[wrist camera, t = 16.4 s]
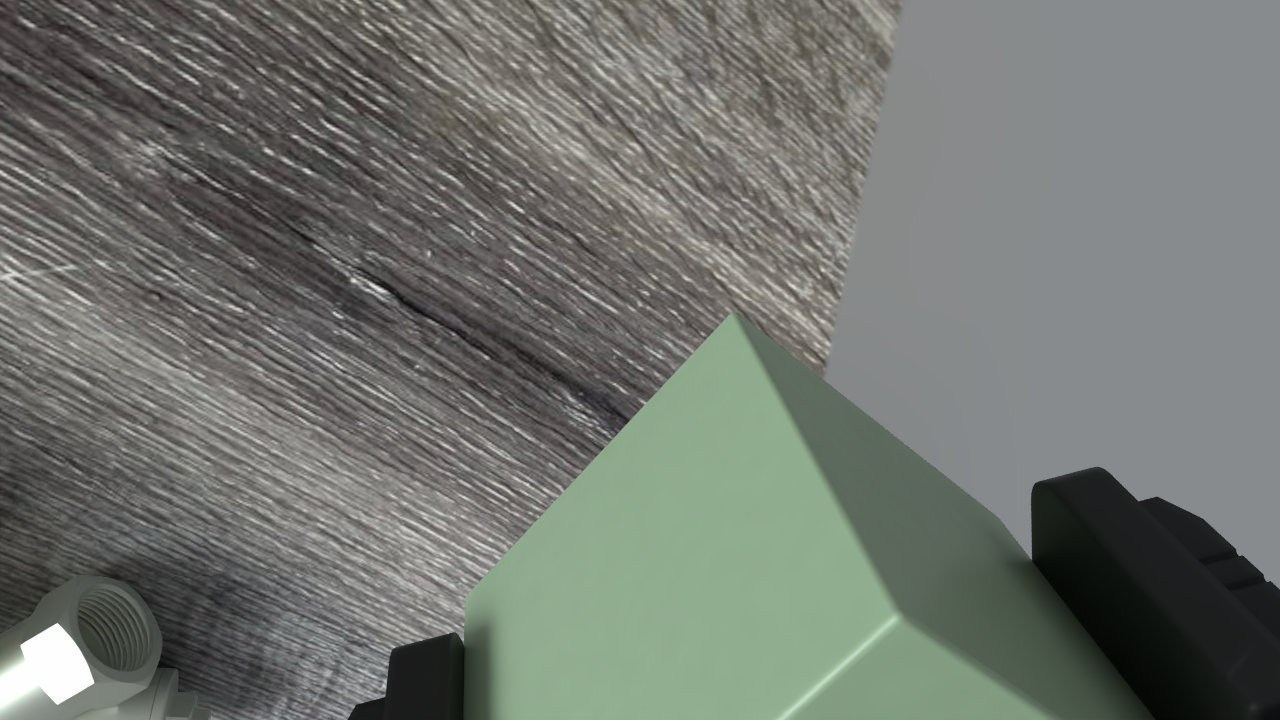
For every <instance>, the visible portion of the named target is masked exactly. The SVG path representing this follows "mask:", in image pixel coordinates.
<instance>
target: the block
mask: <svg viewBox="0 0 1280 720" xmlns="http://www.w3.org/2000/svg"><path fill="white" fill-rule="evenodd" d="M464 647H465V652H464V705H463V720H1155V718H1154V717H1153V716H1152V714H1151V713H1150V712H1149V711H1148V709H1147V708H1146V707H1145V705H1144V704H1143V703H1142V702H1141V700H1140V699H1139V698H1138V696H1137V695H1136V694H1135V693H1134V691H1133V690H1132V689H1131V687H1130V686H1129V685H1128V684H1127V682H1126V681H1125V680H1124V678H1123V677H1122V676H1121V675H1120V673H1119V672H1118V671H1117V669H1116V668H1115V667H1114V666H1113V664H1112V663H1111V662H1110V660H1109V659H1108V658H1107V657H1106V655H1105V654H1104V653H1103V651H1102V650H1101V649H1100V648H1099V646H1098V645H1097V644H1096V642H1095V641H1094V640H1093V639H1092V637H1091V636H1090V635H1089V633H1088V632H1087V631H1086V630H1085V628H1084V627H1083V626H1082V624H1081V623H1080V622H1079V621H1078V619H1077V618H1076V617H1075V615H1074V614H1073V613H1072V612H1071V610H1070V609H1069V608H1068V606H1067V605H1066V604H1065V603H1064V601H1063V600H1062V599H1061V597H1060V596H1059V595H1058V594H1057V592H1056V591H1055V590H1054V588H1053V587H1052V586H1051V585H1050V583H1049V582H1048V581H1047V579H1046V578H1045V577H1044V576H1043V574H1042V573H1041V572H1040V570H1039V569H1038V568H1037V567H1036V565H1035V564H1034V563H1033V561H1032V560H1031V559H1030V557H1029V556H1028V555H1027V554H1026V552H1025V551H1024V550H1023V549H1022V547H1021V546H1020V545H1019V544H1018V542H1017V541H1016V540H1015V538H1014V537H1013V536H1012V534H1011V533H1010V532H1009V530H1008V529H1007V528H1006V527H1005V525H1004V524H1003V523H1002V522H1001V520H1000V519H999V518H998V517H997V516H996V515H994V514H993V513H992V512H990V511H989V510H988V509H987V508H985V507H984V506H983V505H981V504H980V503H979V502H978V501H977V500H975V499H974V498H973V497H971V496H970V495H969V494H967V493H966V492H965V491H964V490H963V489H961V488H960V487H959V486H957V485H956V484H955V483H954V482H952V481H951V480H950V479H948V478H947V477H946V476H945V475H944V474H942V473H941V472H940V471H938V470H937V469H936V468H935V467H933V466H932V465H931V464H930V463H928V462H927V461H926V460H924V459H923V458H922V457H921V456H919V455H918V454H917V453H916V452H914V451H913V450H912V449H910V448H909V447H908V446H906V445H905V444H904V443H903V442H902V441H900V440H899V439H898V438H897V437H895V436H894V435H893V434H891V433H890V432H889V431H888V430H886V429H885V428H884V427H883V426H881V425H880V424H879V423H877V422H876V421H875V420H874V419H872V418H871V417H870V416H869V415H867V414H866V413H865V412H863V411H862V410H861V409H860V408H858V407H857V406H856V405H854V404H853V403H852V402H851V401H849V400H848V399H847V398H846V397H844V396H843V395H842V394H841V393H839V392H838V391H837V390H836V389H834V388H833V387H832V386H830V385H829V384H828V383H827V382H825V381H824V380H823V379H822V378H820V377H819V376H818V375H816V374H815V373H814V372H813V371H811V370H810V369H809V368H808V367H806V366H805V365H804V364H803V363H801V362H800V361H799V360H797V359H796V358H795V357H794V356H792V355H791V354H790V353H789V352H787V351H786V350H785V349H783V348H782V347H781V346H780V345H778V344H777V343H776V342H775V341H773V340H772V339H771V338H769V337H768V336H767V335H766V334H764V333H763V332H762V331H761V330H759V329H758V328H757V327H756V326H754V325H753V324H752V323H750V322H749V321H748V320H747V319H745V318H744V317H743V316H742V315H740V314H739V313H736V312H732V313H731V314H729V315H728V317H727V318H726V319H725V320H724V321H723V322H722V323H721V324H720V325H719V326H718V327H717V328H716V329H715V330H714V332H713V333H712V334H711V335H710V336H709V337H708V338H707V339H706V340H705V341H704V342H703V343H702V344H701V345H700V346H699V348H698V349H697V350H696V351H695V352H694V353H693V354H692V355H691V356H690V357H689V358H688V359H687V360H686V361H685V363H684V364H683V365H682V366H681V367H680V368H679V369H678V370H677V371H676V372H675V373H674V374H673V375H672V376H671V377H670V379H669V380H668V381H667V382H666V383H665V384H664V385H663V386H662V387H661V388H660V389H659V390H658V391H657V392H656V394H655V395H654V396H653V397H652V398H651V399H650V400H649V401H648V402H647V403H646V404H645V405H644V406H643V407H642V408H641V410H640V411H639V412H638V413H637V414H636V415H635V416H634V417H633V418H632V419H631V420H630V421H629V422H628V423H627V425H626V426H625V427H624V428H623V429H622V430H621V431H620V432H619V433H618V434H617V435H616V436H615V437H614V438H613V439H612V441H611V442H610V443H609V444H608V445H607V446H606V447H605V448H604V449H603V450H602V451H601V452H600V453H599V454H598V456H597V457H596V458H595V459H594V460H593V461H592V462H591V463H590V464H589V465H588V466H587V467H586V468H585V469H584V470H583V472H582V473H581V474H580V475H579V476H578V477H577V478H576V479H575V480H574V481H573V482H572V483H571V484H570V485H569V486H568V488H567V489H566V490H565V491H564V492H563V493H562V494H561V495H560V496H559V497H558V498H557V499H556V500H555V501H554V503H553V504H552V505H551V506H550V507H549V508H548V509H547V510H546V511H545V512H544V513H543V514H542V515H541V516H540V517H539V519H538V520H537V521H536V522H535V523H534V524H533V525H532V526H531V527H530V528H529V529H528V530H527V531H526V532H525V534H524V535H523V536H522V537H521V538H520V539H519V540H518V541H517V542H516V543H515V544H514V545H513V546H512V547H511V548H510V550H509V551H508V552H507V553H506V554H505V555H504V556H503V557H502V558H501V559H500V560H499V561H498V562H497V563H496V565H495V566H494V567H493V568H492V569H491V570H490V571H489V572H488V573H487V574H486V575H485V576H484V577H483V578H482V579H481V581H480V582H479V583H478V584H477V585H476V586H475V587H474V588H473V589H472V590H471V591H470V592H469V593H468V594H467V596H466V598H465V624H464Z"/></svg>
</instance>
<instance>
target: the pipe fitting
mask: <svg viewBox="0 0 1280 720" xmlns="http://www.w3.org/2000/svg"><path fill="white" fill-rule="evenodd" d="M162 644H163V638H162V635H161V632H160V629H159V626H158V624H157V622H156V619H155V617H154V615H153V614H152V612H151V610H150V608H149V607H148V605H147V604H146V603H145V601H144V600H143V599H142V597H141V596H140V595H139V594H138V593H137V592H136V591H135V590H134V589H133V588H132V587H131V586H130V585H129V584H126V583H124V582H122V581H119V580H115V579H112V578H107V577H100V576H90V575H77V576H76V577H74V578H72V579H71V580H69V581H67V582H66V583H64V584H62V585H61V586H59V587H57V588H56V589H54V590H52V591H51V592H49V593H47V594H46V595H44V596H43V597H42V599H41V601H40V602H39V604H38V605H37V607H36V609H35V610H34V612H33V614H32V615H31V616H29V617H28V618H26V619H24V620H22V621H21V622H19V623H17V624H16V625H14V626H12V627H11V628H9V629H7V630H6V631H4V632H2V633H1V634H0V720H210V719H211V709H200V708H197V699H198V697H197V695H196V694H195V693H183V692H178V683H179V673H178V670H177V669H175V668H157V665H158V663H159V660H160V655H161V651H162Z"/></svg>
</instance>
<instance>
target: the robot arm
mask: <svg viewBox="0 0 1280 720" xmlns="http://www.w3.org/2000/svg"><path fill="white" fill-rule="evenodd" d="M1031 513H1032V514H1031V516H1032V517H1031V518H1032V561H1033V563H1034V564H1035V565H1036V567H1037V568H1038V569H1039V570H1040V572H1041V573H1042V574H1043V576H1044V577H1045V578H1046V579H1047V581H1048V582H1049V583H1050V585H1051V586H1052V587H1053V588H1054V590H1055V591H1056V592H1057V594H1058V595H1059V596H1060V597H1061V599H1062V600H1063V601H1064V603H1065V604H1066V605H1067V606H1068V608H1069V609H1070V610H1071V612H1072V613H1073V614H1074V615H1075V617H1076V618H1077V619H1078V621H1079V622H1080V623H1081V624H1082V626H1083V627H1084V628H1085V630H1086V631H1087V632H1088V633H1089V635H1090V636H1091V637H1092V639H1093V640H1094V641H1095V642H1096V644H1097V645H1098V646H1099V648H1100V649H1101V650H1102V651H1103V653H1104V654H1105V655H1106V657H1107V658H1108V659H1109V660H1110V662H1111V663H1112V664H1113V666H1114V667H1115V668H1116V669H1117V671H1118V672H1119V673H1120V675H1121V676H1122V677H1123V678H1124V680H1125V681H1126V682H1127V684H1128V685H1129V686H1130V687H1131V689H1132V690H1133V691H1134V693H1135V694H1136V695H1137V696H1138V698H1139V699H1140V700H1141V702H1142V703H1143V704H1144V705H1145V707H1146V708H1147V709H1148V711H1149V712H1150V713H1151V714H1152V716H1153V717H1154V718H1155V720H1280V589H1279V588H1277V587H1276V586H1275V585H1274V584H1273V583H1272V582H1271V581H1270V582H1266V581H1265V579H1264V575H1263V574H1262V573H1261V572H1260V571H1259V570H1258V569H1257V568H1256V567H1254V565H1253V564H1251V563H1250V562H1249V561H1248V560H1247V559H1246V558H1245V557H1244V556H1238V554H1237V552H1236V549H1235V548H1234V547H1233V546H1232V545H1231V544H1230V543H1229V542H1228V541H1226V540H1225V539H1224V538H1223V537H1222V536H1221V535H1220V534H1219V533H1218V532H1217V531H1215V529H1213V528H1212V527H1211V526H1210V525H1209V524H1208V523H1207V522H1206V521H1205V520H1204V519H1202V518H1200V517H1198V516H1196V515H1194V514H1192V513H1190V512H1188V511H1186V510H1184V509H1182V508H1180V507H1178V506H1176V505H1173V504H1171V503H1169V502H1167V501H1165V500H1163V499H1161V498H1159V497H1154V498H1150V499H1146V500H1143V501H1139V502H1138V501H1137V500H1136V499H1135V498H1134V497H1133V496H1132V495H1131V494H1130V493H1129V492H1128V491H1127V490H1126V489H1125V488H1124V487H1123V486H1122V485H1121V484H1120V483H1119V482H1118V481H1117V480H1116V479H1115V478H1114V477H1113V476H1112V475H1111V474H1110V473H1109V472H1107V471H1106V470H1105V469H1103V468H1100V467H1093V468H1089V469H1085V470H1081V471H1078V472H1074V473H1070V474H1066V475H1063V476H1059V477H1055V478H1051V479H1047V480H1043V481H1039V482H1037V483H1035V485H1034V486H1033V489H1032V493H1031ZM464 652H465V647H464V645H463V643H462V640H461V638H460V637H459V635H458V634H457V633H456V632H453V633H449V634H446V635H442V636H438V637H434V638H430V639H427V640H423V641H419V642H415V643H411V644H407V645H404V646H400V647H396V648H394V649H393V650H392V652H391V655H390V661H389V670H388V679H387V688H386V697H384V698H380V699H377V700H373V701H369V702H365V703H361V704H358V705H356V706H355V708H354V710H353V711H352V713H351V715H350V717H349V718H348V720H463V705H464Z"/></svg>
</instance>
